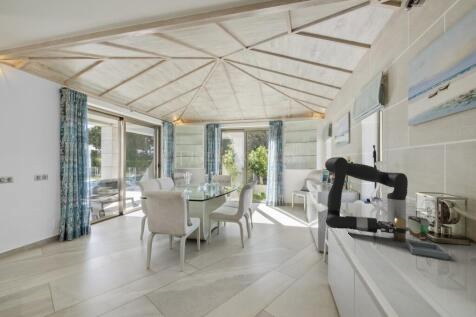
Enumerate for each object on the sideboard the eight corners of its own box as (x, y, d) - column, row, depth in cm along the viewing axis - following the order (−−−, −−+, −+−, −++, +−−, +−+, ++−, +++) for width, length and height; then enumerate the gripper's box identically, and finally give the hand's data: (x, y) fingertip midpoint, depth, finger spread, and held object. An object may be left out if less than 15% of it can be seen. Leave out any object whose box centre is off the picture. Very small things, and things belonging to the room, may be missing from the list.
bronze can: (392, 238, 113) (392, 216, 113) (404, 239, 111) (404, 217, 111) (394, 241, 109) (394, 218, 109) (406, 242, 106) (407, 220, 106)
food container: (436, 242, 108) (435, 221, 108) (421, 241, 109) (421, 221, 109) (420, 234, 120) (420, 216, 120) (407, 233, 121) (407, 215, 121)
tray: (405, 245, 103) (405, 240, 103) (438, 250, 97) (437, 244, 97) (411, 254, 92) (411, 248, 92) (448, 260, 87) (448, 253, 87)
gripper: (367, 220, 110) (407, 224, 103) (365, 214, 123) (401, 218, 115) (367, 235, 110) (407, 240, 103) (365, 228, 123) (401, 232, 115)
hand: (404, 228), depth 109 cm, fingers open, 8 cm apart
